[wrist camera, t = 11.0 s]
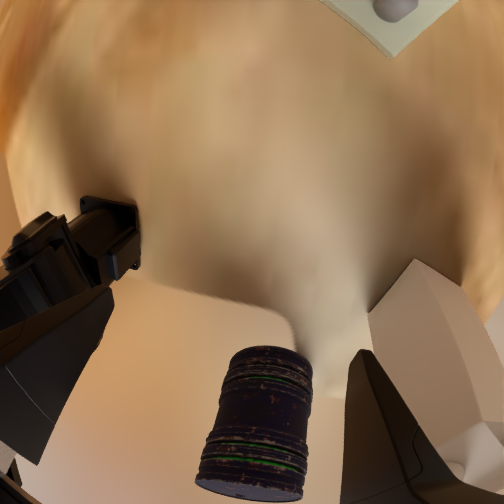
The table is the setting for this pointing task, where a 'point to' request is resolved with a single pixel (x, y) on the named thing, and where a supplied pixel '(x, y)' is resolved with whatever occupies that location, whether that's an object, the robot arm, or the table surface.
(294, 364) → the dark ribbed canister
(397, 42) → the peg stand
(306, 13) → the table surface
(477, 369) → the milk carton
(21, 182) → the table surface
